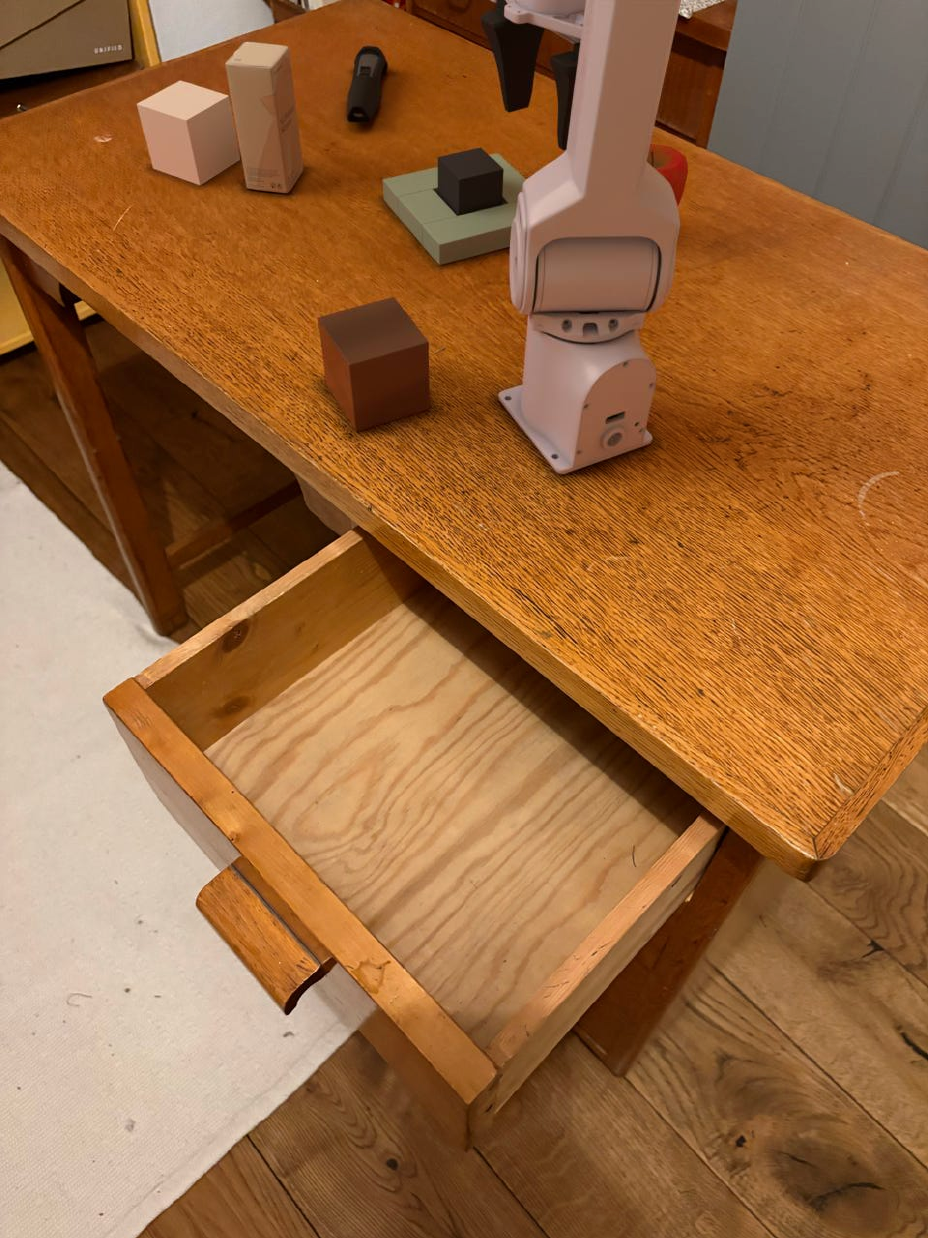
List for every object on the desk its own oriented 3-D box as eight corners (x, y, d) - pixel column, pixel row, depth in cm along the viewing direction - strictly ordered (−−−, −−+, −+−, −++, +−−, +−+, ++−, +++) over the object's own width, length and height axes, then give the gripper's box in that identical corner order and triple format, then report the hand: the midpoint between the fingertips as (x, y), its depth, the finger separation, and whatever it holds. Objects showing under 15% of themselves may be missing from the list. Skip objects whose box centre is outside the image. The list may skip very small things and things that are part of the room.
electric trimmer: (339, 135, 94) (336, 103, 91) (356, 68, 103) (354, 37, 100) (375, 136, 94) (374, 104, 91) (389, 69, 103) (388, 38, 100)
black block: (501, 222, 84) (504, 168, 80) (458, 233, 82) (459, 179, 78) (479, 200, 86) (481, 146, 82) (437, 210, 85) (437, 156, 81)
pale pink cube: (240, 159, 90) (229, 95, 85) (200, 185, 87) (186, 120, 82) (193, 143, 92) (180, 79, 87) (152, 168, 89) (136, 103, 84)
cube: (430, 409, 68) (429, 341, 63) (355, 432, 66) (349, 364, 61) (397, 363, 71) (394, 295, 66) (325, 384, 69) (317, 316, 64)
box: (288, 195, 86) (270, 68, 77) (245, 189, 86) (222, 62, 78) (305, 168, 89) (289, 43, 80) (263, 163, 90) (243, 38, 81)
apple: (655, 210, 85) (671, 128, 79) (686, 245, 82) (705, 161, 76) (594, 222, 84) (605, 139, 78) (623, 257, 80) (638, 173, 74)
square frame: (559, 233, 83) (561, 212, 81) (439, 265, 79) (439, 244, 78) (496, 172, 89) (498, 152, 88) (383, 199, 86) (382, 178, 84)
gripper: (457, -92, 67) (455, 103, 77) (577, -29, 59) (556, 176, 70) (534, -107, 69) (522, 84, 80) (659, -48, 62) (627, 153, 73)
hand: (542, 126), depth 75 cm, fingers open, 7 cm apart
